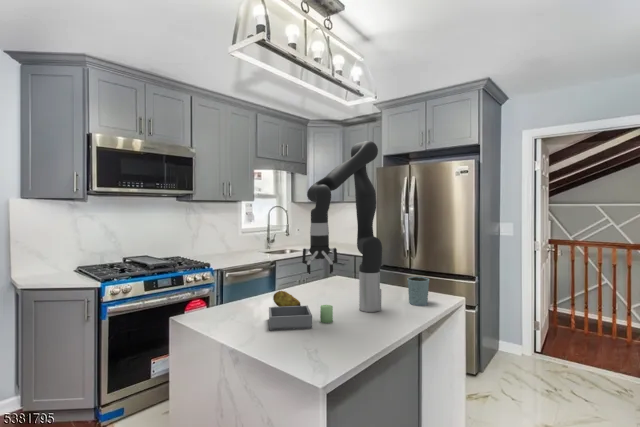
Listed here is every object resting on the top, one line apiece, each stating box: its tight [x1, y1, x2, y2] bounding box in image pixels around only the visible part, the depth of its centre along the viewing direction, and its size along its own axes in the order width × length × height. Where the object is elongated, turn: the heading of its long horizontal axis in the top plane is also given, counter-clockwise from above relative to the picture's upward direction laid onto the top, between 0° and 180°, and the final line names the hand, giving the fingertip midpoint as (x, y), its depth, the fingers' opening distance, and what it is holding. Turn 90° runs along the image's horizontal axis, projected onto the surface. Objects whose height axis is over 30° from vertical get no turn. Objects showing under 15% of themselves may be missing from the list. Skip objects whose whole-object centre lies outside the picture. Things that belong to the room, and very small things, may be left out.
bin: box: [268, 305, 313, 332], centre depth 143 cm, size 16×14×5 cm
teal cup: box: [407, 276, 430, 307], centre depth 172 cm, size 10×10×12 cm
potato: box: [272, 290, 302, 307], centre depth 162 cm, size 8×13×8 cm, turn 45°
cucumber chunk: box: [319, 304, 334, 324], centre depth 146 cm, size 5×5×6 cm
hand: (320, 273), depth 147 cm, fingers open, 8 cm apart
